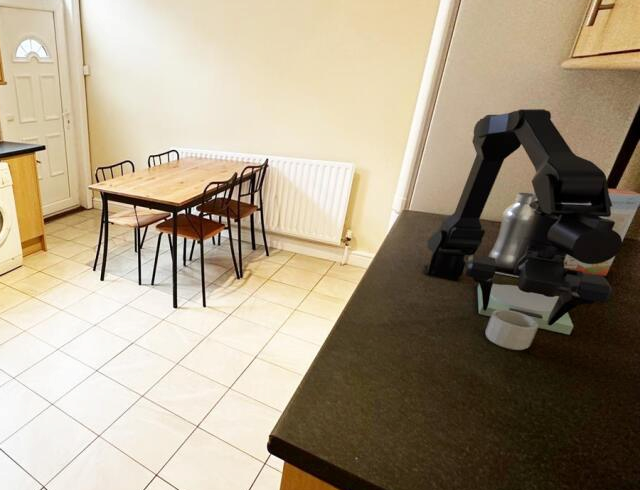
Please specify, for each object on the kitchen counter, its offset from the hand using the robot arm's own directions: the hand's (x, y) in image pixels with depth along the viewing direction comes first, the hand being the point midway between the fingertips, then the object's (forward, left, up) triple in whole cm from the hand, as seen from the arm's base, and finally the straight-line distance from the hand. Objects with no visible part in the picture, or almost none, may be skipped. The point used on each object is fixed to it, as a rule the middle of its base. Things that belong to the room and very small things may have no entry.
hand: (515, 316), depth 78 cm
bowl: (0, 0, -5) cm, 5 cm away
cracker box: (+14, +48, -6) cm, 50 cm away
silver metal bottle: (+1, +39, -6) cm, 39 cm away
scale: (+3, +16, -5) cm, 17 cm away
